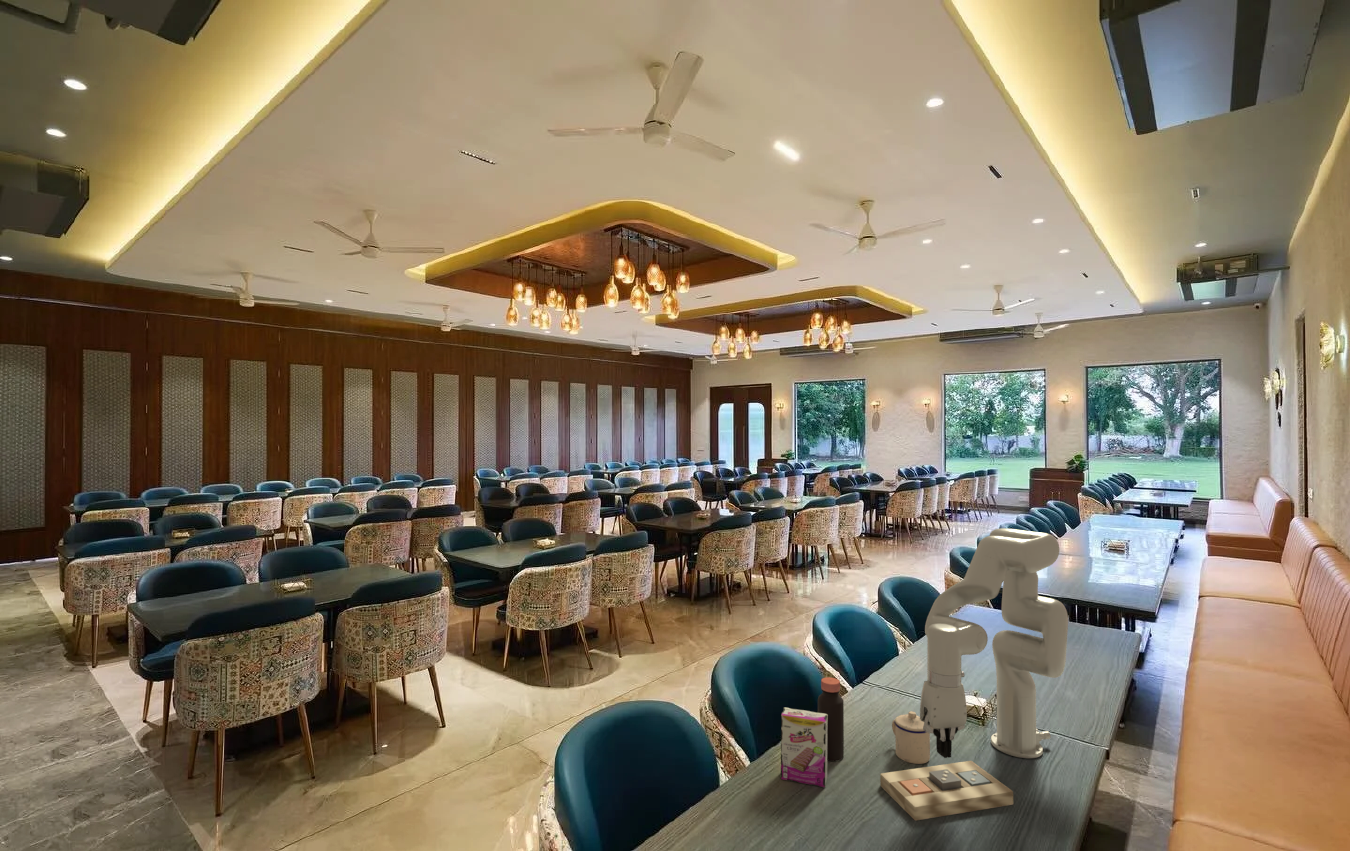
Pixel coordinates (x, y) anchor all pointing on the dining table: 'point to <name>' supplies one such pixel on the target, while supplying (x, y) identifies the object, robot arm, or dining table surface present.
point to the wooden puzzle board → (945, 792)
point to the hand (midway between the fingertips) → (943, 754)
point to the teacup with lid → (911, 739)
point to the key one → (915, 787)
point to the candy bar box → (804, 746)
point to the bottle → (833, 717)
